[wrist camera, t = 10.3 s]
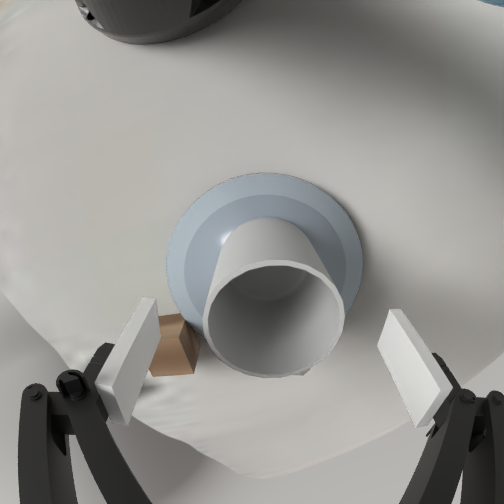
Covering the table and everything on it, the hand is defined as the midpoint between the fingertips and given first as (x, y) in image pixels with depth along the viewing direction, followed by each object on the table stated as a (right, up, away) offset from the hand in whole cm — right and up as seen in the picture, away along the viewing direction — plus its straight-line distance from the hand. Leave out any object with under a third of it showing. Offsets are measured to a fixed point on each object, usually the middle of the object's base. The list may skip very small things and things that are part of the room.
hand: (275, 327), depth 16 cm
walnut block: (-9, -4, +11) cm, 15 cm away
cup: (0, +2, +8) cm, 8 cm away
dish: (0, +2, +9) cm, 9 cm away
